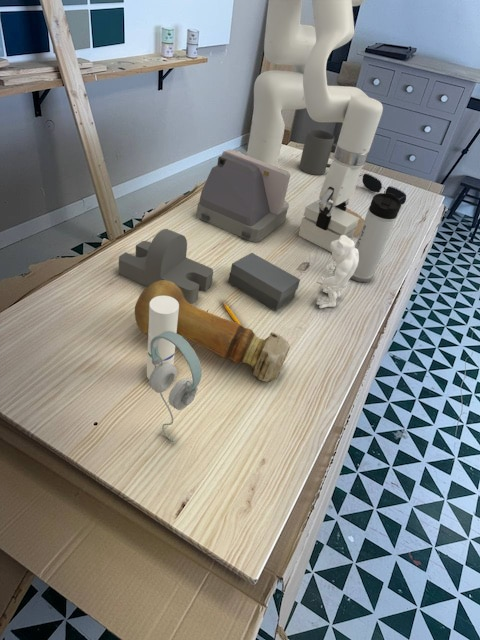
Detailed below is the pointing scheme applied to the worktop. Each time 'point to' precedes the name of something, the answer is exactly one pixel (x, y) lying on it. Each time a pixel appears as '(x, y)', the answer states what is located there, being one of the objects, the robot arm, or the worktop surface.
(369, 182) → the sunglasses
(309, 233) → the off-white rectangular block
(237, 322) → the pencil
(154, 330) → the tube
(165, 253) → the bracket
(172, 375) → the headphones
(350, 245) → the figurine
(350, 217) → the white box
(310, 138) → the mug
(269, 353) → the stamp
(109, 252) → the worktop surface
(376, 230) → the travel mug
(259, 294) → the grey stack
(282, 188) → the instant camera
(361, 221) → the clay tablet
